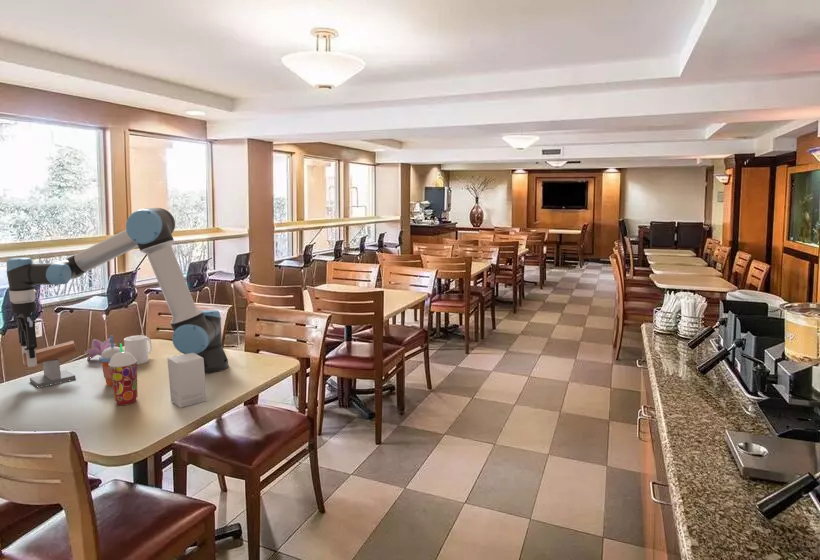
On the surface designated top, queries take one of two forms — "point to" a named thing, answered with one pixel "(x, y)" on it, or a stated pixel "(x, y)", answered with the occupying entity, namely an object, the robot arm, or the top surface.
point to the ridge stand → (52, 374)
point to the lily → (98, 347)
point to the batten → (53, 352)
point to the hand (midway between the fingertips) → (30, 364)
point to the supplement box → (187, 379)
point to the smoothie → (123, 377)
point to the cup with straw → (108, 360)
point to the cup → (138, 347)
